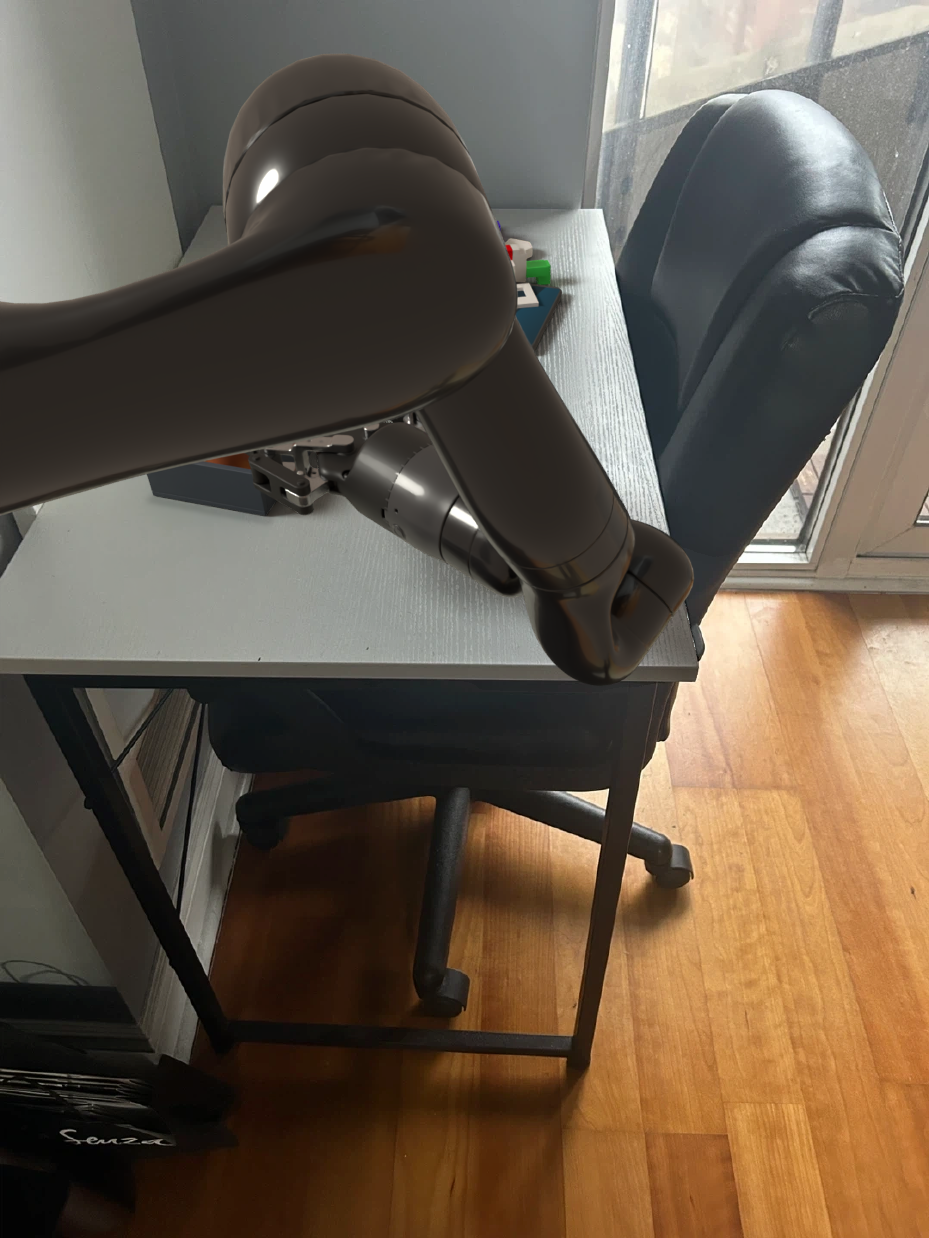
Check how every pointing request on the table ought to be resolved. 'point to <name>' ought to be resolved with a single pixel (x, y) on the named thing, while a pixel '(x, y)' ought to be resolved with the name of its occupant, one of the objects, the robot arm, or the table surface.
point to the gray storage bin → (213, 486)
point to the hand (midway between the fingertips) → (285, 410)
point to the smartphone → (538, 311)
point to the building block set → (527, 270)
